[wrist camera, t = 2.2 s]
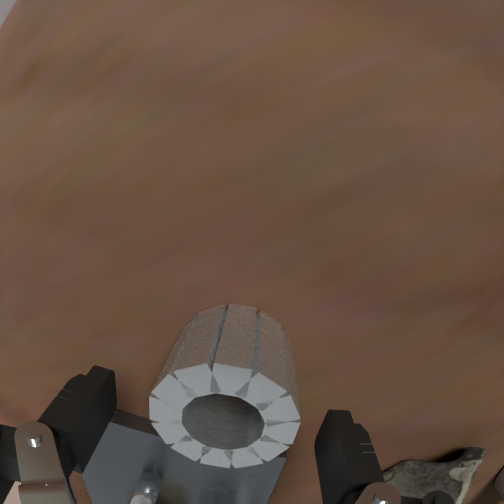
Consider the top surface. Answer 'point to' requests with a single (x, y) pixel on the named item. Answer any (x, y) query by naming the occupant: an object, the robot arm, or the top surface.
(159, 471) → the carrier
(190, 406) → the planet gear
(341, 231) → the top surface
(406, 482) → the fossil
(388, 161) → the top surface
